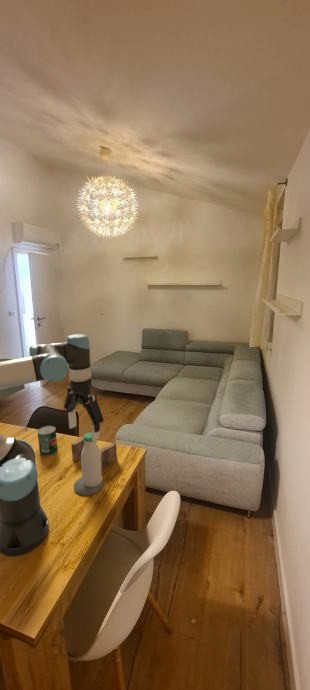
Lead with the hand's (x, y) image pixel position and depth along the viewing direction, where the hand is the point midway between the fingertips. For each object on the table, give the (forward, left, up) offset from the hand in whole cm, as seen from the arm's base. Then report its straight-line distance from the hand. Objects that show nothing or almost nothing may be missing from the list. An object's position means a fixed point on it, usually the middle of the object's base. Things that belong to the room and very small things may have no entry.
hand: (83, 433), depth 109 cm
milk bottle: (+2, 0, -22) cm, 22 cm away
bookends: (+12, +11, -23) cm, 28 cm away
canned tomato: (+3, +33, -23) cm, 40 cm away
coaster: (0, 0, -23) cm, 23 cm away
